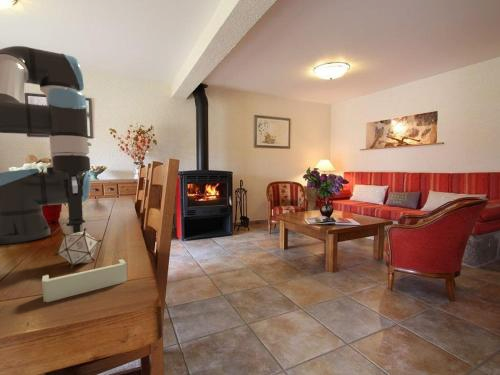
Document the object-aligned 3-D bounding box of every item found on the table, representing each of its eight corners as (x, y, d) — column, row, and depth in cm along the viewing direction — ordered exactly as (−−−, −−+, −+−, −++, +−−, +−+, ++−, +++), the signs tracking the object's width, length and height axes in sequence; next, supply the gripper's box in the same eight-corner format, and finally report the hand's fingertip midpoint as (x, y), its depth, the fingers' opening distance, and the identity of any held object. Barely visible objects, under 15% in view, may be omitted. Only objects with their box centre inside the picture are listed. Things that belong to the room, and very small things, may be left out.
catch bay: (44, 295, 45) (42, 275, 45) (123, 275, 53) (122, 259, 53) (43, 303, 43) (41, 282, 42) (127, 281, 50) (126, 263, 50)
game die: (82, 276, 63) (94, 237, 69) (101, 269, 59) (112, 228, 64) (40, 268, 57) (57, 226, 62) (58, 260, 53) (74, 216, 58)
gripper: (92, 153, 60) (98, 253, 62) (86, 157, 71) (92, 242, 72) (51, 153, 56) (59, 260, 57) (52, 156, 66) (58, 247, 68)
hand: (77, 250), depth 65 cm, fingers closed
